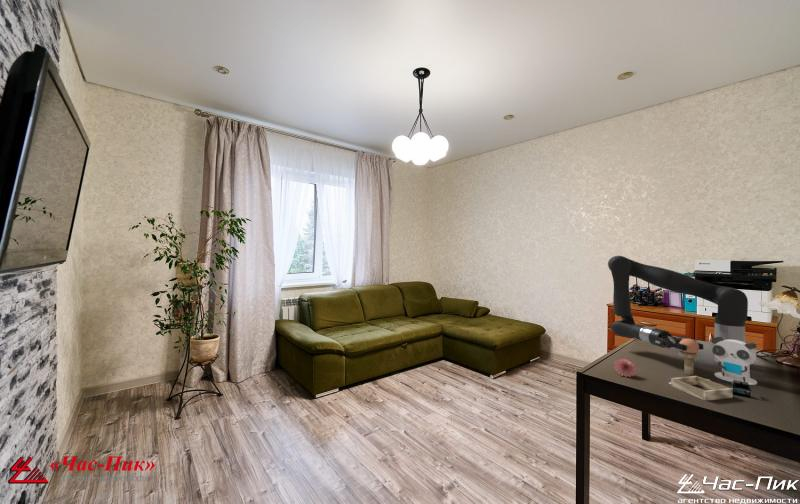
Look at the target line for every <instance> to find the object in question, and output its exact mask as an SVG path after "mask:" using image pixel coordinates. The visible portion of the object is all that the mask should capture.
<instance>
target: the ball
mask: <svg viewBox="0 0 800 504" xmlns="http://www.w3.org/2000/svg"><path fill="white" fill-rule="evenodd" d="M692 339H693V338H692ZM692 339H691V338H689V339H683V340H681V341H680V344H684V345H686V346H687V351H684V350H681V351H683V352H685V353H688V354H694V353H698V352H699V351H700V349H699V345H698V343H699V342H697V341H694V340H695V339H693V340H692Z"/></svg>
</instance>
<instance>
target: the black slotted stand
mask: <svg viewBox="0 0 800 504" xmlns="http://www.w3.org/2000/svg"><path fill="white" fill-rule="evenodd" d="M730 386H731V389H733V396H738V397H742V398H745V399H750V400H751V399H752V400H758V401H762V402H763V399H762V397H761V395H759V394H757V393H752V392H751V391H752V389H751V385H749V384H748V382H743V381H737V380H733V382H731V383H730ZM739 389H741V390H739Z"/></svg>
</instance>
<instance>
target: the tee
mask: <svg viewBox="0 0 800 504" xmlns="http://www.w3.org/2000/svg"><path fill="white" fill-rule="evenodd" d="M678 356H680V357H683V358H684V359H683V360H684V362H683V363H684V364H683V366H684V371H683V372H684V374H686V375H689V376H695V375H694V373H695V371H694V370H695V369H694V368H695V367H694V363H695V359H700V353H698V352H697V353H694V354H688V353H685V352H683V351H682V350H678Z"/></svg>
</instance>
